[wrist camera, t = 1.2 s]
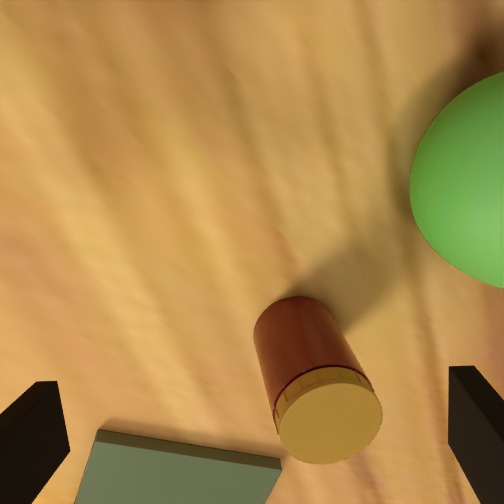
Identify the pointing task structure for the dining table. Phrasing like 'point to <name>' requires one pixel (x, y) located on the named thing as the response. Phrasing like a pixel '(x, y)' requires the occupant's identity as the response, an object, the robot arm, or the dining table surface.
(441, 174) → the toy bird
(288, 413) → the jam lid
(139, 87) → the dining table surface
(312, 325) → the jam jar
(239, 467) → the corner board
